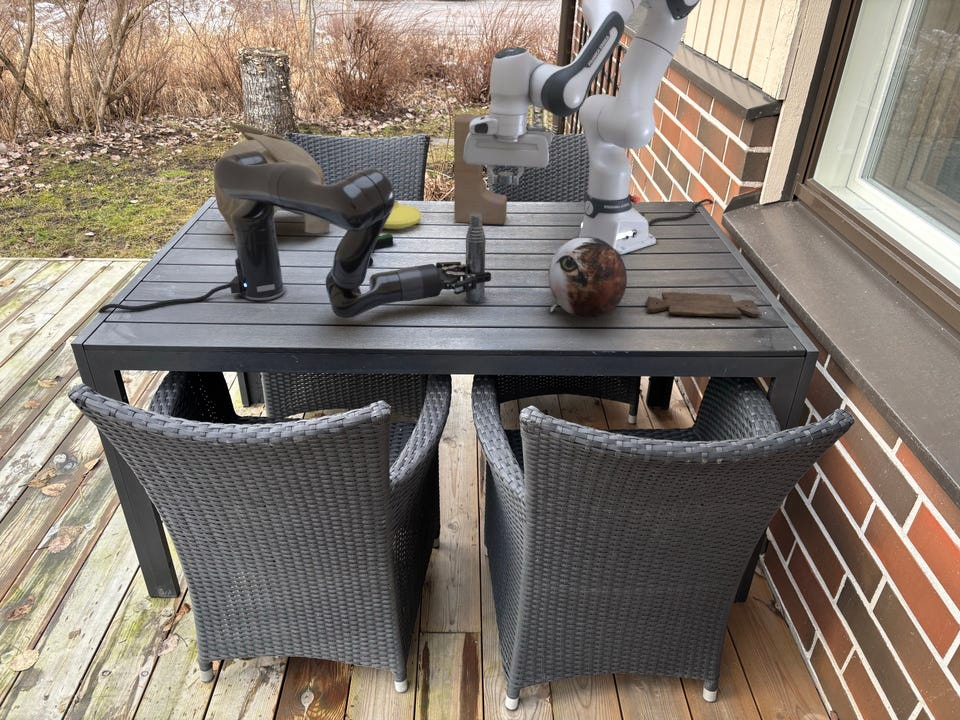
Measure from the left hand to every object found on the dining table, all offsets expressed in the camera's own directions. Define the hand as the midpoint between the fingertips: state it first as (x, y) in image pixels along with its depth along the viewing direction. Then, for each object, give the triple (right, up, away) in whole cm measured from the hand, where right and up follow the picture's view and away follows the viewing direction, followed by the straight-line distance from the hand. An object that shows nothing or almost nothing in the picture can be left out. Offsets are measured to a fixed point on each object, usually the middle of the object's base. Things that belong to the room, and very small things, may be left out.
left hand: (485, 272), depth 167 cm
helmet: (-60, +16, +38) cm, 73 cm away
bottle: (-3, -6, +2) cm, 7 cm away
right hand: (+5, +22, +5) cm, 23 cm away
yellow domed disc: (-26, +19, +45) cm, 56 cm away
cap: (+5, +24, +4) cm, 24 cm away
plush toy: (+23, -10, -2) cm, 25 cm away
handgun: (-31, +8, +25) cm, 40 cm away
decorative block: (-1, +22, +50) cm, 54 cm away
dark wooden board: (+50, -9, 0) cm, 51 cm away
